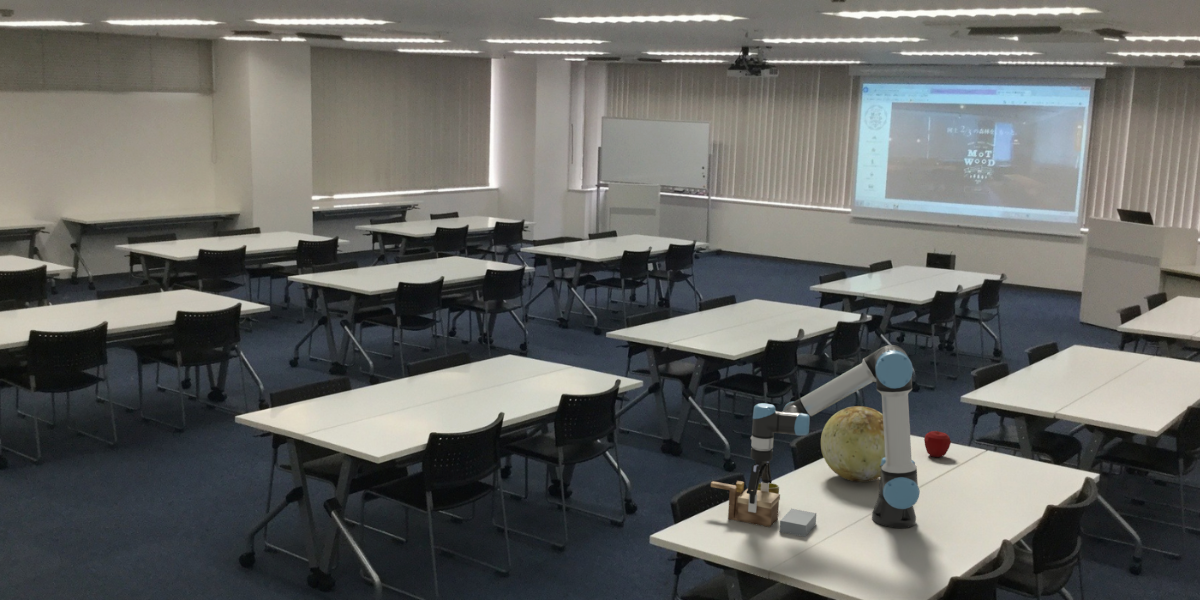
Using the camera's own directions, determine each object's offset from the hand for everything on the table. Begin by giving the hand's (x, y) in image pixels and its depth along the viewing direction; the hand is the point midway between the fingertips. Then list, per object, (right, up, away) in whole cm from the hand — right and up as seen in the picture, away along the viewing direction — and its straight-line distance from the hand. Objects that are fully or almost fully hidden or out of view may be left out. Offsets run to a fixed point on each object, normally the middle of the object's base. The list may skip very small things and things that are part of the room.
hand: (758, 506), depth 366 cm
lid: (0, +2, 0) cm, 2 cm away
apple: (+91, +4, +86) cm, 125 cm away
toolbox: (-2, -5, +1) cm, 5 cm away
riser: (+13, -6, -6) cm, 16 cm away
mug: (+5, -3, +17) cm, 18 cm away
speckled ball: (+47, 0, +50) cm, 68 cm away
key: (-10, +5, +5) cm, 13 cm away
